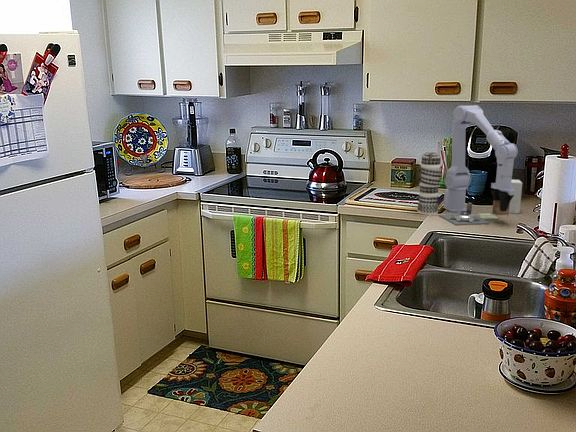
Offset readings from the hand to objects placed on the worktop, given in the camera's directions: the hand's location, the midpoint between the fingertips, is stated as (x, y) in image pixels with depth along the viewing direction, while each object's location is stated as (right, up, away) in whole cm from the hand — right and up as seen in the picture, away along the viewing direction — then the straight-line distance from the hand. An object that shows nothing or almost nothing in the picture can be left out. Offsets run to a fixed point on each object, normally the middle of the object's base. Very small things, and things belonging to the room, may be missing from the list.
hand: (500, 209), depth 240 cm
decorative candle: (-25, -1, +16) cm, 30 cm away
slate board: (-13, -4, +4) cm, 15 cm away
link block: (0, -2, 0) cm, 2 cm away
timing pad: (-3, -3, +9) cm, 10 cm away
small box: (+11, -1, +20) cm, 23 cm away
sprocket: (-13, -4, +4) cm, 14 cm away
